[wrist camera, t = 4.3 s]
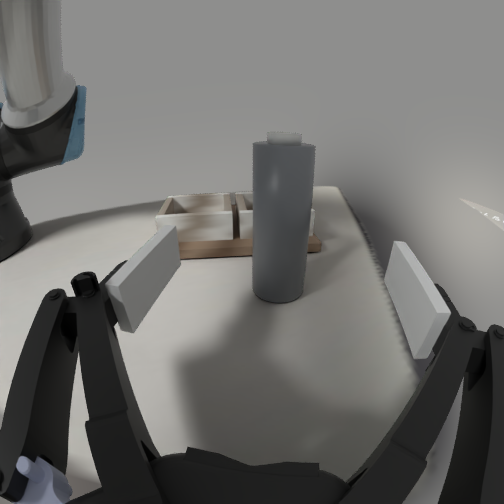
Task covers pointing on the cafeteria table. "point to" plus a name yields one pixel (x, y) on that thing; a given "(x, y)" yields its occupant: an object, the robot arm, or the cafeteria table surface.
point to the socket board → (215, 224)
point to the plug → (281, 215)
